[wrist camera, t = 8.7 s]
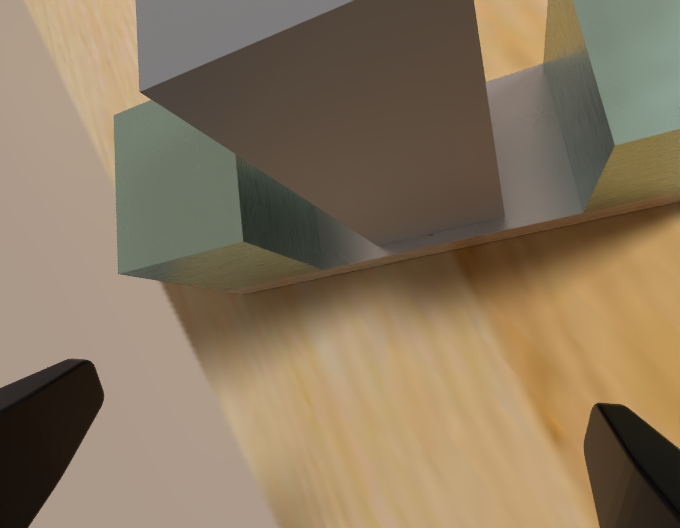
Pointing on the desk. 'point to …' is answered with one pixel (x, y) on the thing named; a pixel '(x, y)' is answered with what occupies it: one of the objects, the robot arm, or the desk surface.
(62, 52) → the desk surface
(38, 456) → the robot arm
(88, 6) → the desk surface
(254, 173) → the rail
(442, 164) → the block
